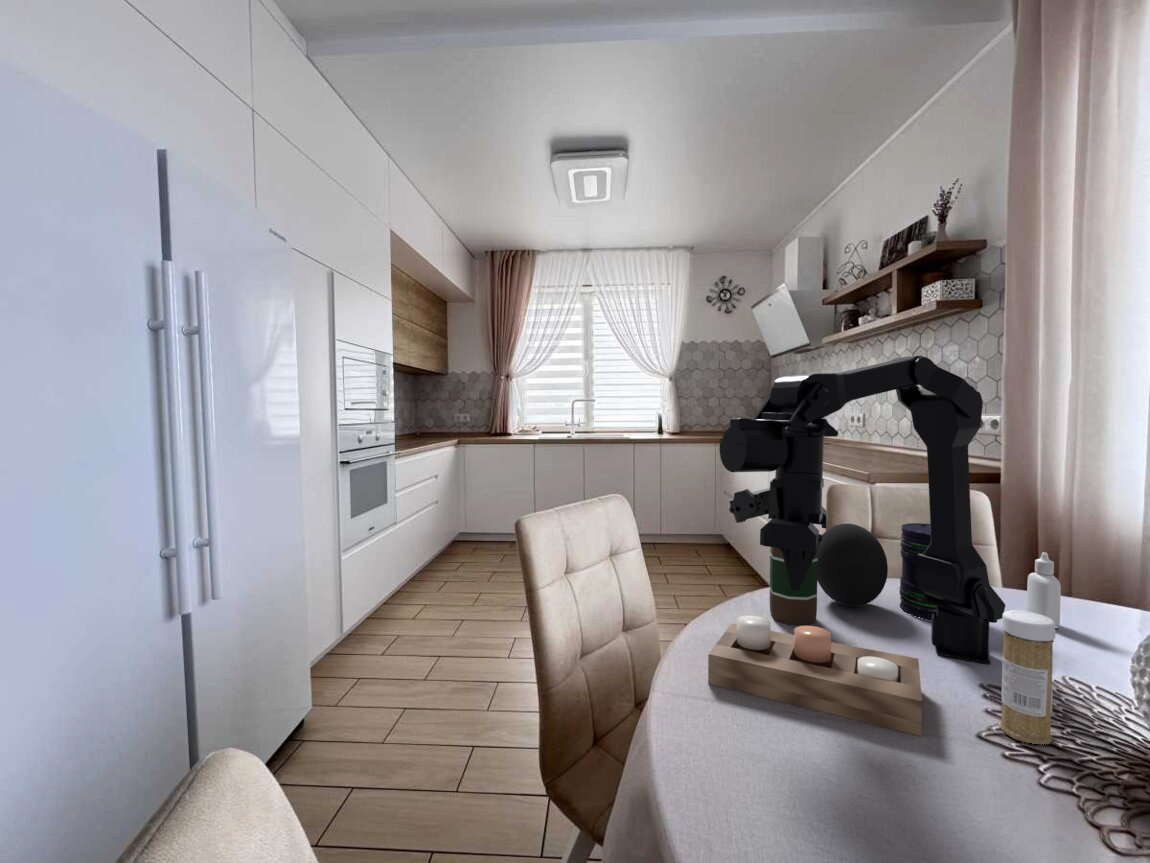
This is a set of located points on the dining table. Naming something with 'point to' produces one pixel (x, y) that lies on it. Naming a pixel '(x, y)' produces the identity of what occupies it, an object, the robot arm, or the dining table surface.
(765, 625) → the knob
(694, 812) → the dining table surface
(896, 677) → the knob
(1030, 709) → the sprinkles bottle
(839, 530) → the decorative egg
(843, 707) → the knob mount
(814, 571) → the beer bottle
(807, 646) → the middle knob
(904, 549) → the storage jar
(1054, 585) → the eye dropper bottle
